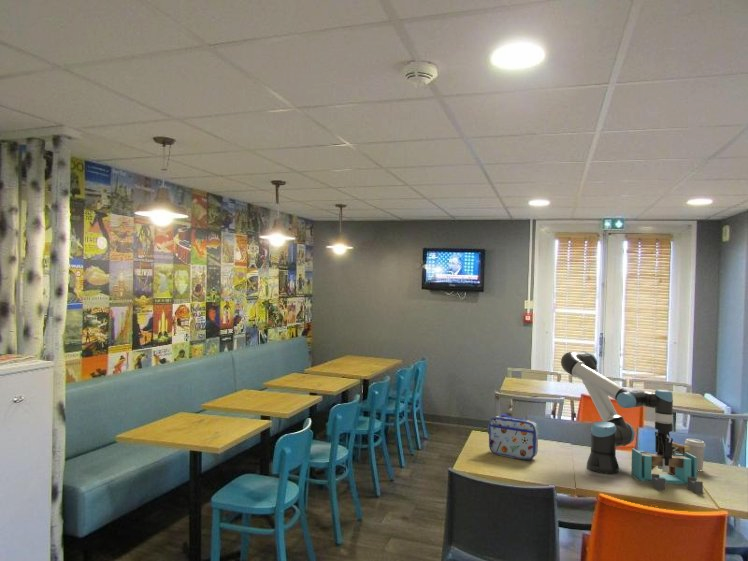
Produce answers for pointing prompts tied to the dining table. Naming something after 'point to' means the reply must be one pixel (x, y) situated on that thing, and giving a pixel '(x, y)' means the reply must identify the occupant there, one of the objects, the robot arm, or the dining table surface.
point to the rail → (658, 460)
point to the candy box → (678, 450)
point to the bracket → (645, 474)
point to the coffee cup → (696, 450)
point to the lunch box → (513, 437)
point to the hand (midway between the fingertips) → (663, 470)
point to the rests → (692, 484)
